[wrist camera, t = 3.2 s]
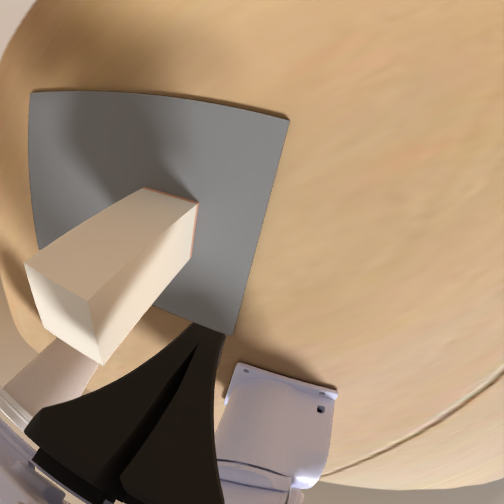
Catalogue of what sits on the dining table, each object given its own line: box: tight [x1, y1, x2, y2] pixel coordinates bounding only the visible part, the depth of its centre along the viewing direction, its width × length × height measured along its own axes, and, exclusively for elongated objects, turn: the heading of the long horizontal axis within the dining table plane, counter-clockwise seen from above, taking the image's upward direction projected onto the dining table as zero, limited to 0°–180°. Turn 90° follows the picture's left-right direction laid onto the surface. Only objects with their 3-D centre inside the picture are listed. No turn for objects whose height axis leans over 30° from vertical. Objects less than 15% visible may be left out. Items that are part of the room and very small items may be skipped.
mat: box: [28, 91, 290, 336], centre depth 19 cm, size 22×16×1 cm
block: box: [24, 187, 199, 366], centre depth 14 cm, size 4×4×10 cm
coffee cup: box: [0, 338, 100, 432], centre depth 26 cm, size 10×10×15 cm
